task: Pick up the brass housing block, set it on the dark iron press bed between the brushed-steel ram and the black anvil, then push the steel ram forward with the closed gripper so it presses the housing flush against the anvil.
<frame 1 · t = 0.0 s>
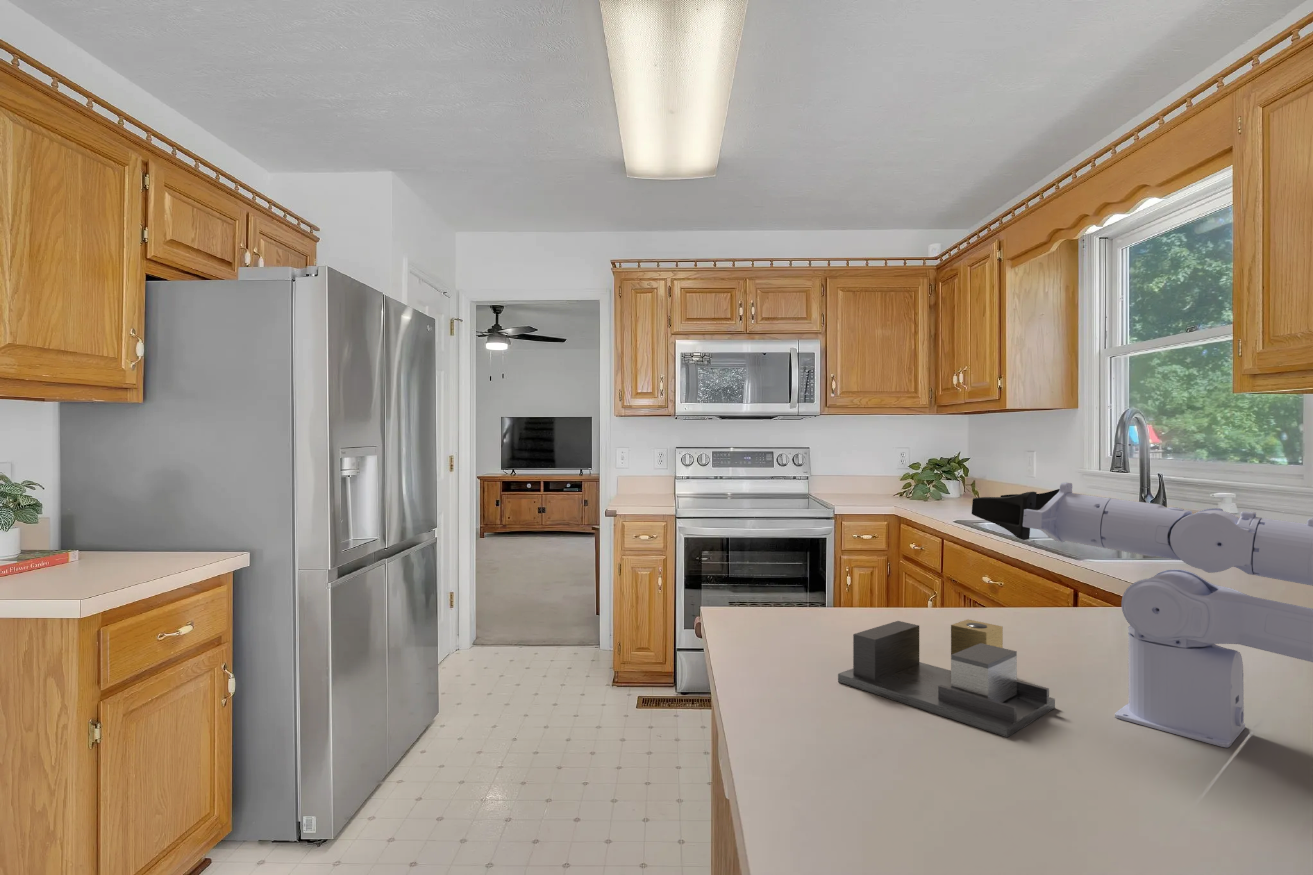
hand: (987, 504, 86), 22 cm above the countertop, tool horizontal, fingers open, 7 cm apart
ram: (984, 674, 74), point 4 cm above the countertop, slide at 0.0 cm
press bed: (941, 694, 78), on the countertop
housing: (976, 672, 86), on the countertop
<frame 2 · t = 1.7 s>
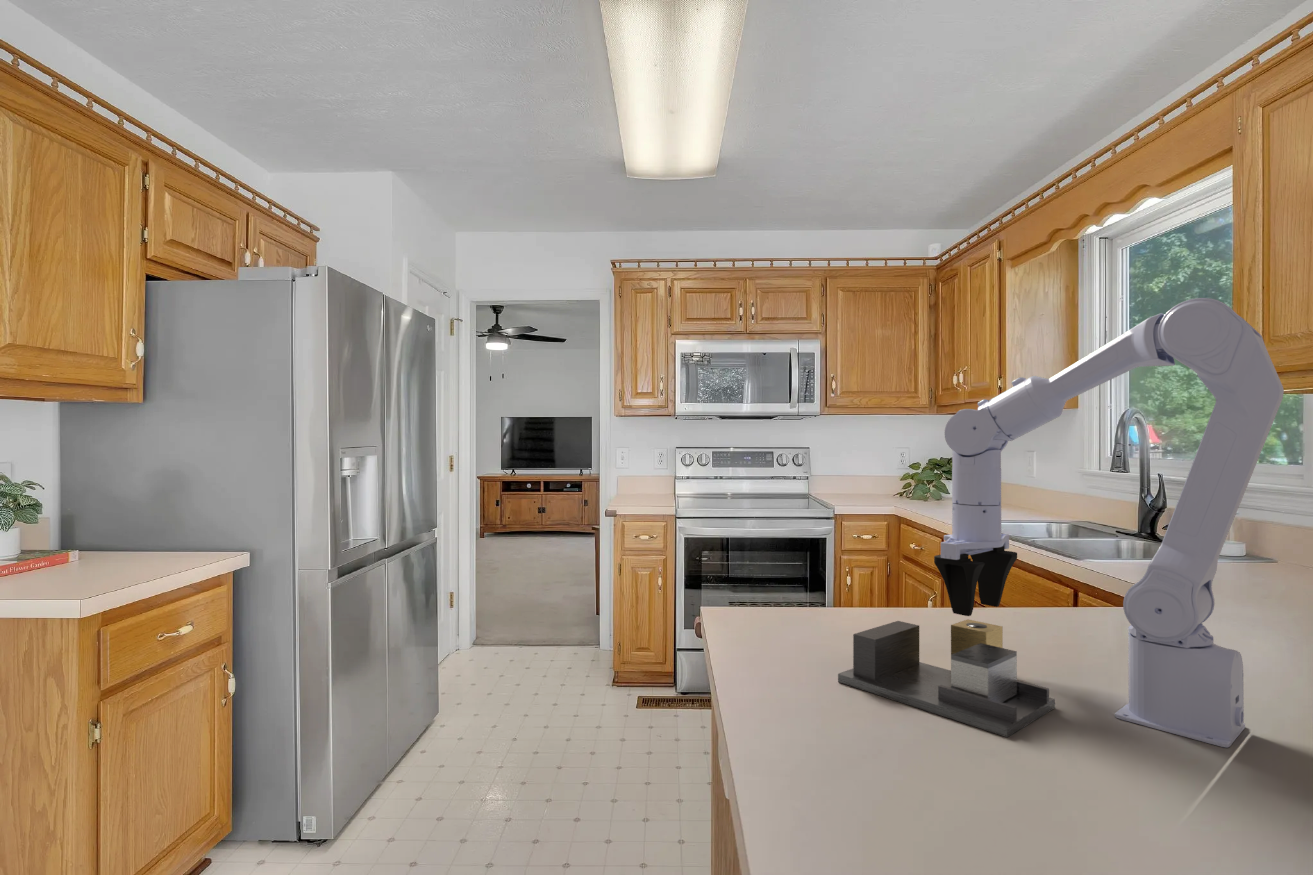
hand: (976, 609, 86), 8 cm above the countertop, tool pointing down, fingers open, 7 cm apart
nothing on the countertop moved.
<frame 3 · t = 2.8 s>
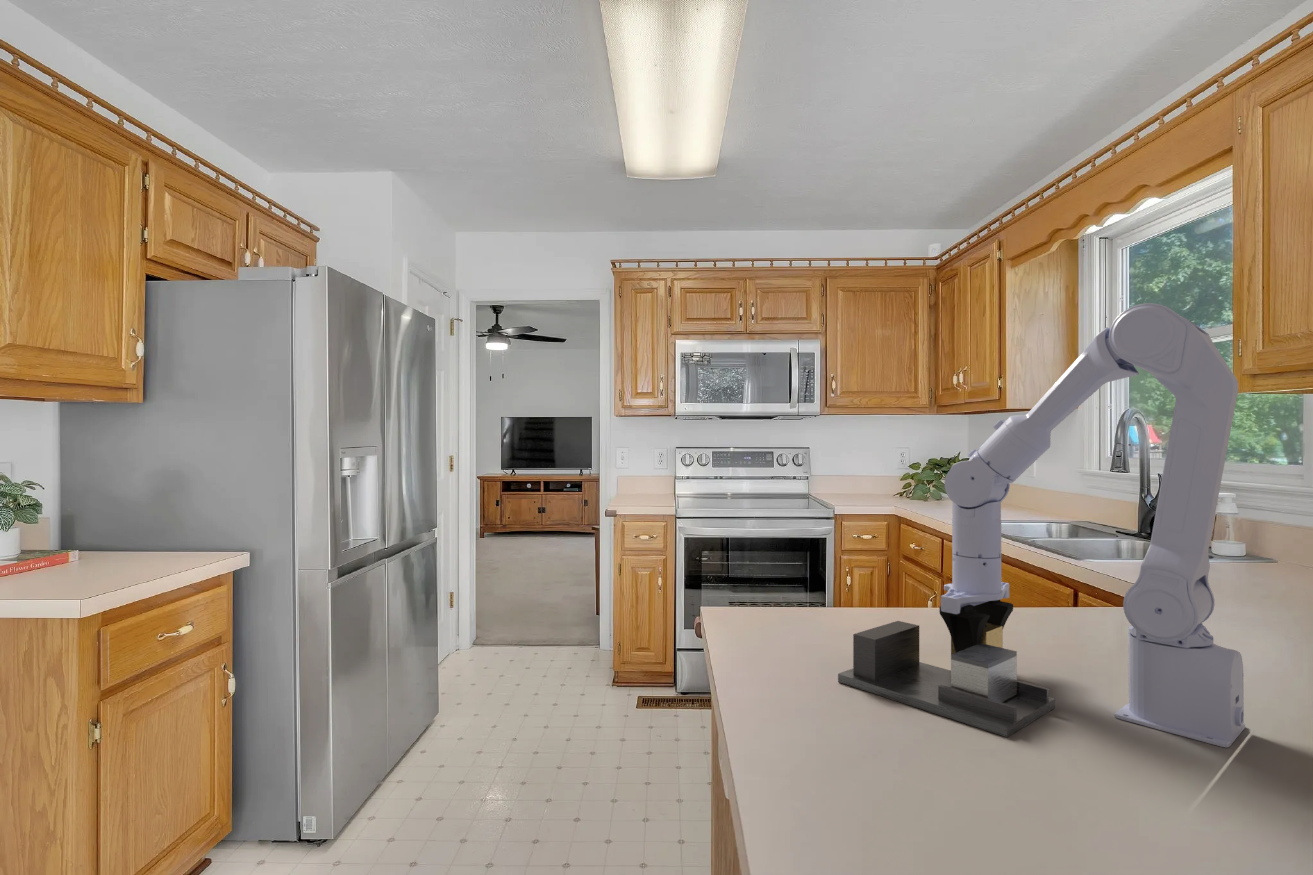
hand: (976, 660, 86), 1 cm above the countertop, tool pointing down, fingers closed on housing, 4 cm apart
housing: (976, 671, 86), on the countertop, touching gripper
everything else where it was.
when the fingers open (4 cm above the countertop, at t = 6.0 s): housing stays where it is, resting on press bed.
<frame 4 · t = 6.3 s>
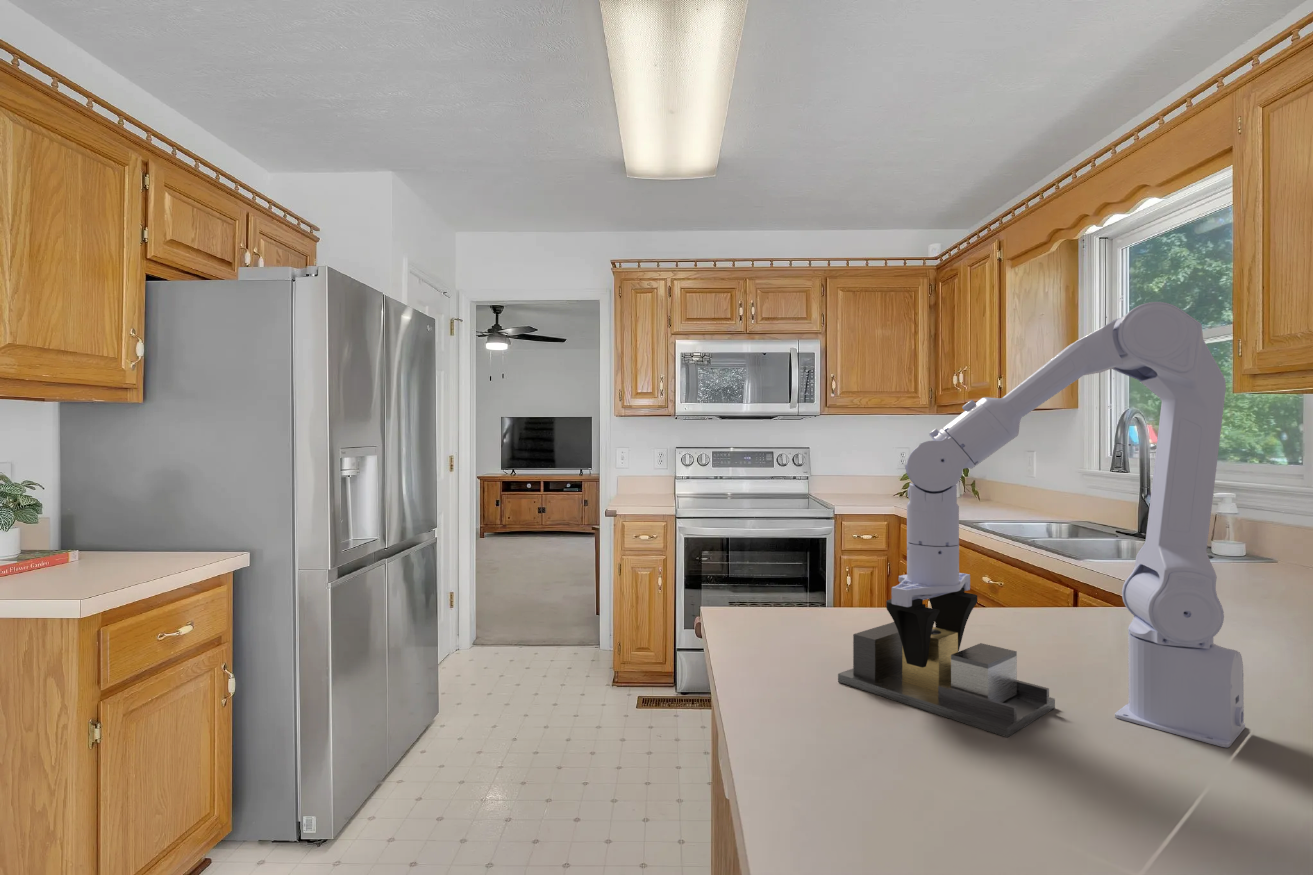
hand: (932, 658, 79), 4 cm above the countertop, tool pointing down, fingers open, 7 cm apart
housing: (930, 682, 79), point 1 cm above the countertop, touching press bed
everything else where it was.
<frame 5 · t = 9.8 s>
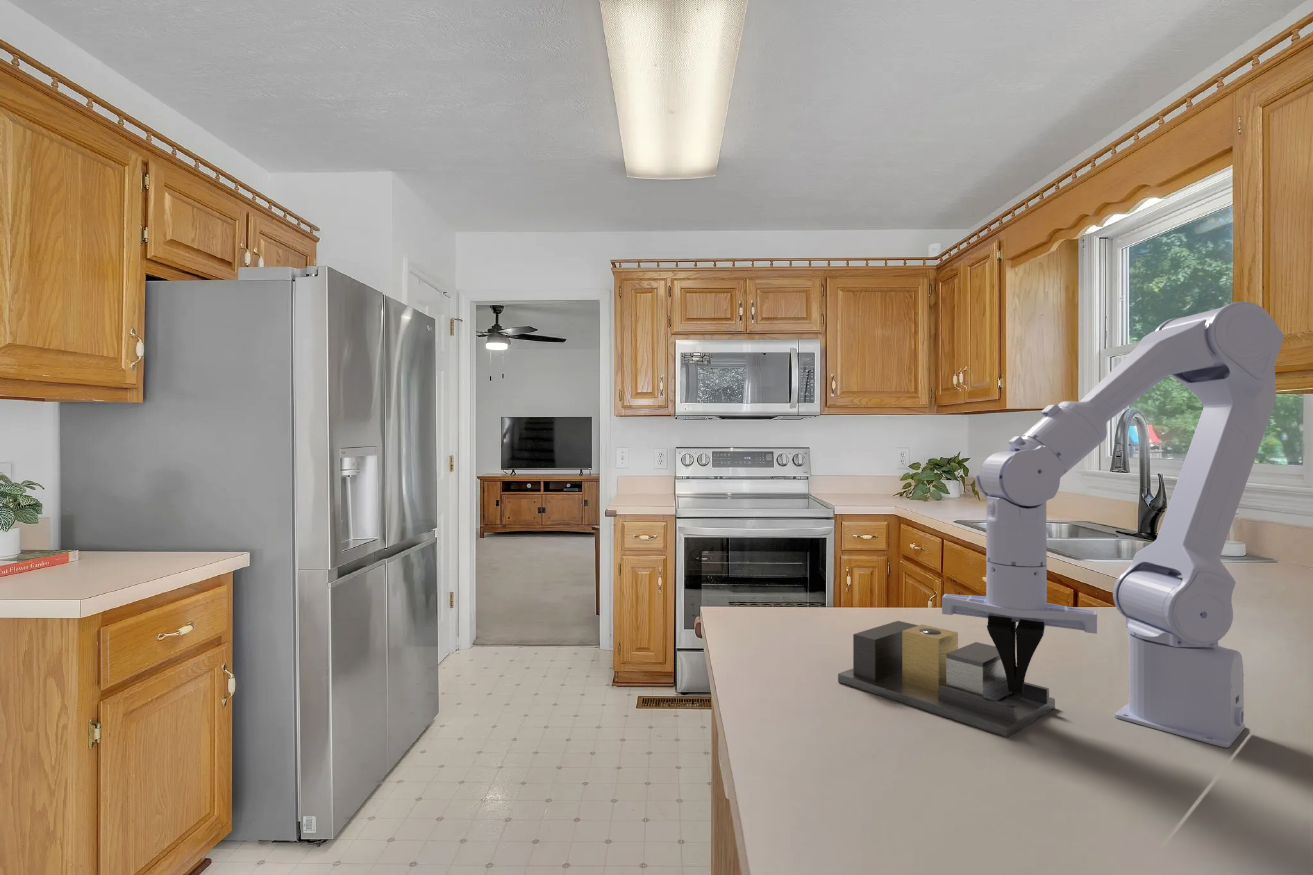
hand: (1016, 689, 72), 3 cm above the countertop, tool pointing down, fingers closed
ram: (979, 673, 75), point 4 cm above the countertop, slide at 0.6 cm, touching gripper
everything else where it was.
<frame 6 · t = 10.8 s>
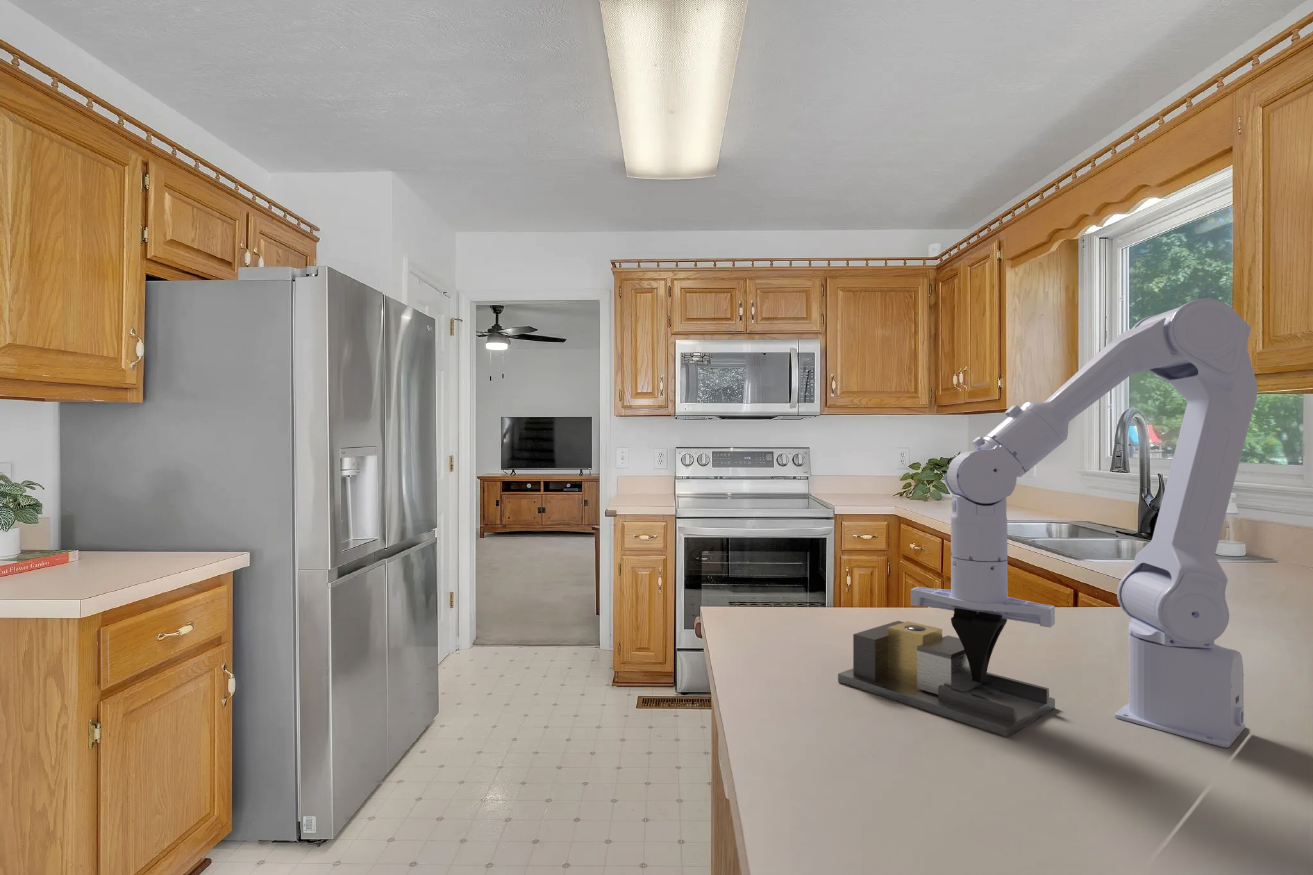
hand: (979, 679, 75), 3 cm above the countertop, tool pointing down, fingers closed
ram: (949, 665, 78), point 4 cm above the countertop, slide at 4.0 cm, touching gripper, housing
housing: (914, 677, 81), point 1 cm above the countertop, touching press bed, ram
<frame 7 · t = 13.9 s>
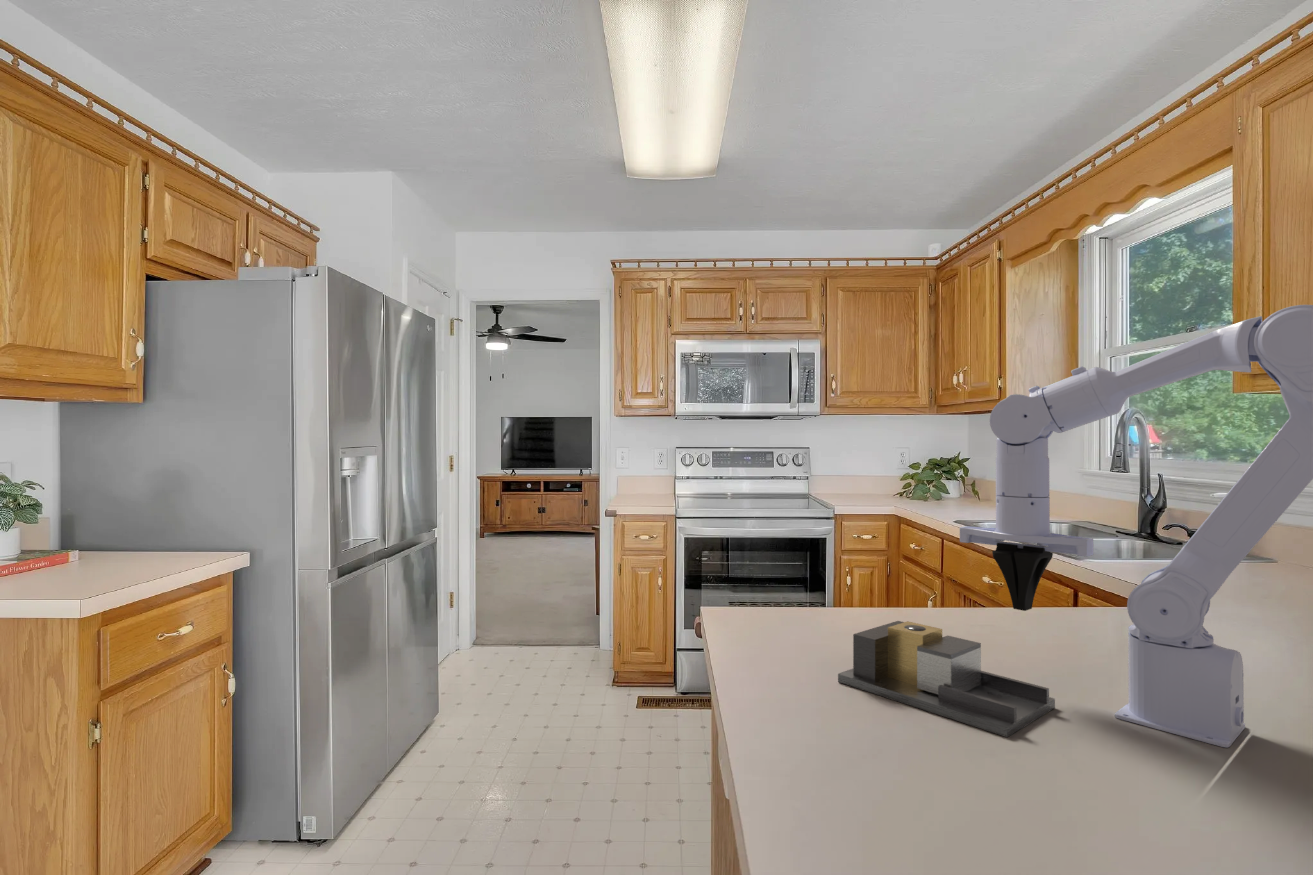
hand: (1022, 608, 81), 9 cm above the countertop, tool pointing down, fingers closed
ram: (949, 665, 77), point 4 cm above the countertop, slide at 4.0 cm, touching housing
everything else where it was.
at the end: housing 0.2 cm from the target spot, point 1.0 cm above the countertop; ram slide at 4.0 cm; housing tilted 0° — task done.
